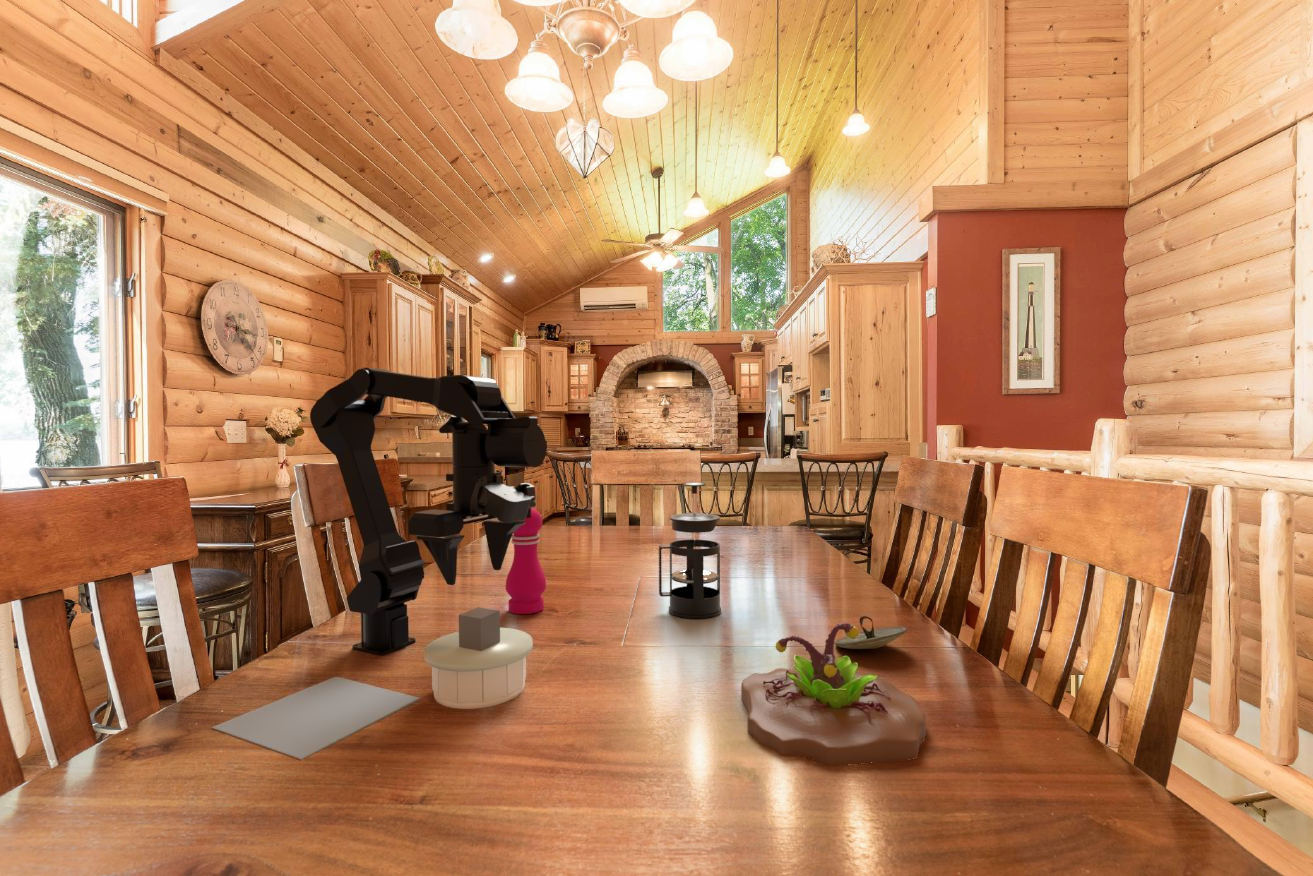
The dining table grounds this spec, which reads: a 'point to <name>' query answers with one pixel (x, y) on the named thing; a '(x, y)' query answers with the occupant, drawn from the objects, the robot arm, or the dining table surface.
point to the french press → (693, 566)
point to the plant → (832, 710)
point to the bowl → (478, 686)
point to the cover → (478, 644)
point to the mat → (316, 716)
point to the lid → (871, 637)
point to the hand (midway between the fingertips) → (475, 577)
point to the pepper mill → (526, 569)
